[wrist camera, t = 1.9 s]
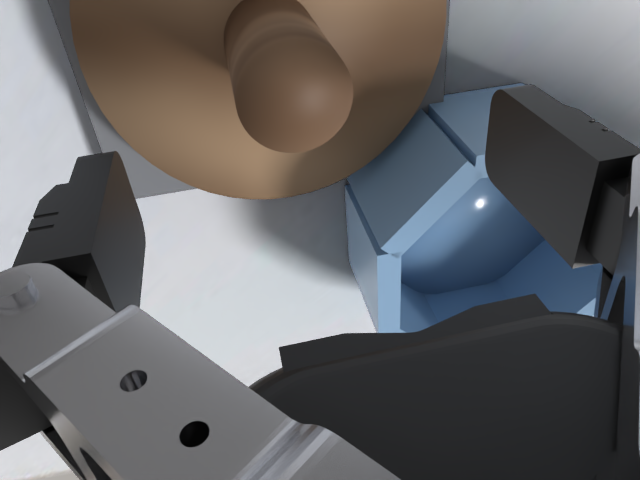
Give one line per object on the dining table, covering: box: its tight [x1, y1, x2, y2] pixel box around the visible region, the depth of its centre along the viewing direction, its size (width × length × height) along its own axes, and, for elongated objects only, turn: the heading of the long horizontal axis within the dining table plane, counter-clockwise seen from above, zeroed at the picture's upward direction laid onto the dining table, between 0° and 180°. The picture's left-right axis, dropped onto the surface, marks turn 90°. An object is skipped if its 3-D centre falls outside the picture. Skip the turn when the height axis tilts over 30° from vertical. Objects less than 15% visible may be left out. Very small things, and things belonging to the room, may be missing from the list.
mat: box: [48, 0, 450, 199], centre depth 19 cm, size 11×13×1 cm
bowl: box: [345, 83, 602, 333], centre depth 23 cm, size 11×11×5 cm
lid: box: [70, 0, 447, 199], centre depth 16 cm, size 12×12×6 cm
